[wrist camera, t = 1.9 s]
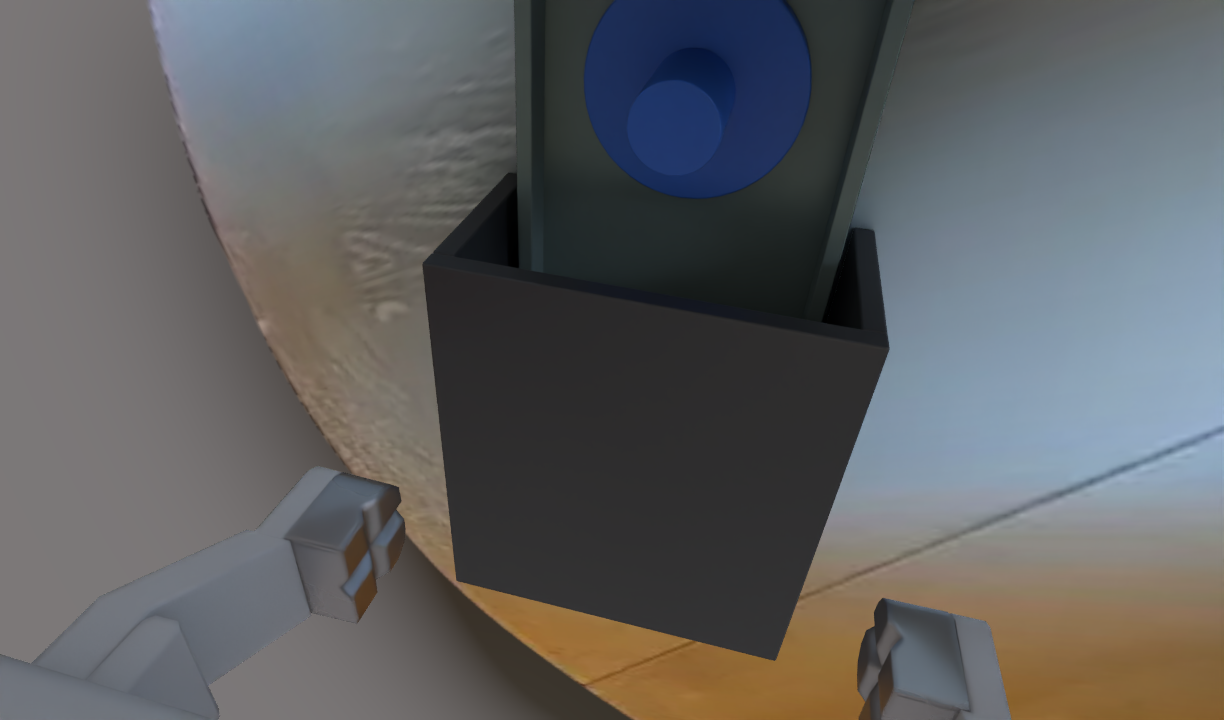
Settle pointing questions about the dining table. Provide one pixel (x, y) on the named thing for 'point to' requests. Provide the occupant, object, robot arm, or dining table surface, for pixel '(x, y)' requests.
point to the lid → (697, 91)
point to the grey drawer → (713, 227)
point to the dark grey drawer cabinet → (642, 435)
